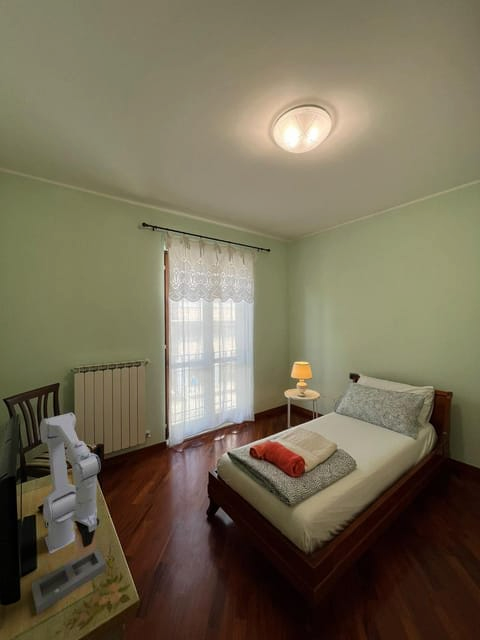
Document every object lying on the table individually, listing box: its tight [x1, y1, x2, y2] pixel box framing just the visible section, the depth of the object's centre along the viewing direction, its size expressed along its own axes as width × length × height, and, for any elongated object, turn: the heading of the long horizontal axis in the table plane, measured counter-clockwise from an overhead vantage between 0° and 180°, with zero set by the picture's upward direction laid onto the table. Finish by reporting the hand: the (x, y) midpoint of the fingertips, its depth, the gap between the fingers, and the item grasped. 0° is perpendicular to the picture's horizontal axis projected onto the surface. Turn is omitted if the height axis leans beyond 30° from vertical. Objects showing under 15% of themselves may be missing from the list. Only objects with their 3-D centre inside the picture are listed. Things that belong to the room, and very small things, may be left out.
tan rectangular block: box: [74, 527, 97, 559], centre depth 79 cm, size 4×5×7 cm
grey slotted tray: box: [31, 545, 107, 616], centre depth 76 cm, size 9×17×3 cm, turn 136°
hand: (85, 541), depth 79 cm, fingers closed on tan rectangular block, 4 cm apart
